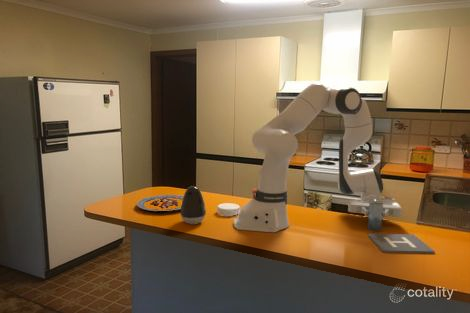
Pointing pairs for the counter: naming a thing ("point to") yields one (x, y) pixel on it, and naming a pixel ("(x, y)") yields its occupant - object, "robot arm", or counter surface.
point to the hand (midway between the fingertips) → (375, 214)
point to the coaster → (228, 209)
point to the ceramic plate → (163, 199)
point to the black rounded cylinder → (193, 206)
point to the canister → (375, 214)
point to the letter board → (400, 243)
